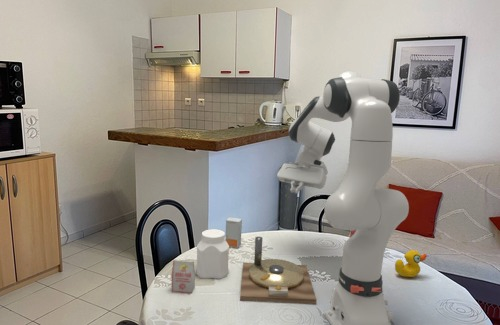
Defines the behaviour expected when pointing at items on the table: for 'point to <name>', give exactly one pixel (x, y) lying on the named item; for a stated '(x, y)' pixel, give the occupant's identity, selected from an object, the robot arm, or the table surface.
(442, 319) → the table surface
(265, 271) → the crank wheel
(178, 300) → the table surface
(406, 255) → the duckling
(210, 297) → the table surface
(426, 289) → the table surface
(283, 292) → the wooden wheel stand
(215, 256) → the jar
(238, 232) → the skincare box
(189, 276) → the small printed food carton
